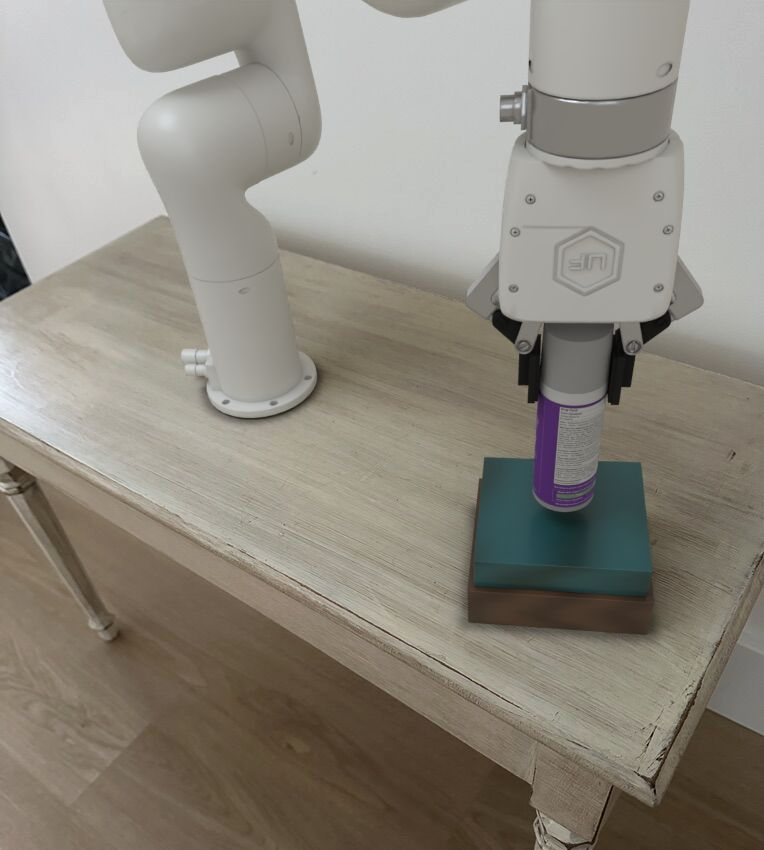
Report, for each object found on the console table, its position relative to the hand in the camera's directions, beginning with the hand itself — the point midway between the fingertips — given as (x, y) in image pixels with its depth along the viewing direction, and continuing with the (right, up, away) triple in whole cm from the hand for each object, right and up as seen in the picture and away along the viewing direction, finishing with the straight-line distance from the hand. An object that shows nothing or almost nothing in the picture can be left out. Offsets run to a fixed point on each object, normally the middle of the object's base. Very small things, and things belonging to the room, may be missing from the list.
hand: (572, 390), depth 55 cm
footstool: (+2, -13, +13) cm, 19 cm away
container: (+1, -7, +7) cm, 10 cm away
